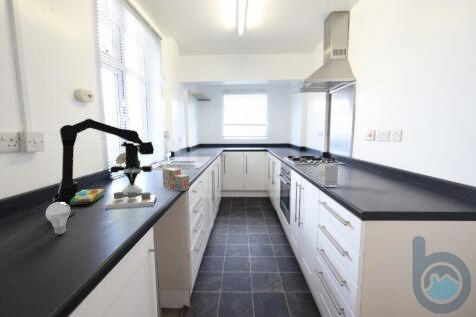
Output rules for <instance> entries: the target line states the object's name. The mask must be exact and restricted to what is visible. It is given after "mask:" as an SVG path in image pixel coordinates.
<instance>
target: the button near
mask: <svg viewBox="0 0 476 317" xmlns="http://www.w3.org/2000/svg"><path fill="white" fill-rule="evenodd" d="M123 197H125V195H124V194H123V192H121V191H117V192H114V193H113V198H114V199H120V198H123Z"/></svg>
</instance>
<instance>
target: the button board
mask: <svg viewBox="0 0 476 317" xmlns="http://www.w3.org/2000/svg"><path fill="white" fill-rule="evenodd" d="M156 201H157V194H150V198H148V199H142V198H141V195H137V197H135V198H128V196H124V197H123V198H120V199H114V197H112V198H110V199H109V200H108V201H107V202H106V203H105V204H104V209H105V210H107V209H119V208H120V209H121V208H123V209H124V208H137V207H149V206H150V207H151V205H152V206H154V205H155V203H156ZM154 202H155V203H154Z"/></svg>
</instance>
